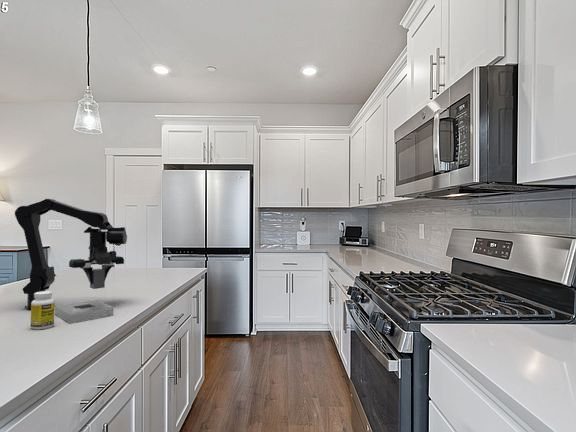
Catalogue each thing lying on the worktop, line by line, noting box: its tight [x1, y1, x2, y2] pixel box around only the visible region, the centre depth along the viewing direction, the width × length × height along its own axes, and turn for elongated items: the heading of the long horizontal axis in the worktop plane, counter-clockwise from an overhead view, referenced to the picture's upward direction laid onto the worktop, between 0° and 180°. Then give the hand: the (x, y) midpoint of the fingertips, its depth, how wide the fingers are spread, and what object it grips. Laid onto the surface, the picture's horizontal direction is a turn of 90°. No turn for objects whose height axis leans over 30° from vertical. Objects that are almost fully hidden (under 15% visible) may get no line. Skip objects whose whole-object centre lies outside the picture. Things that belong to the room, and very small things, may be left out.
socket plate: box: [54, 299, 114, 325], centre depth 127 cm, size 16×14×4 cm
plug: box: [89, 268, 106, 290], centre depth 141 cm, size 4×4×7 cm
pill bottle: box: [30, 290, 56, 331], centre depth 113 cm, size 6×6×11 cm
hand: (97, 283), depth 141 cm, fingers closed on plug, 4 cm apart
